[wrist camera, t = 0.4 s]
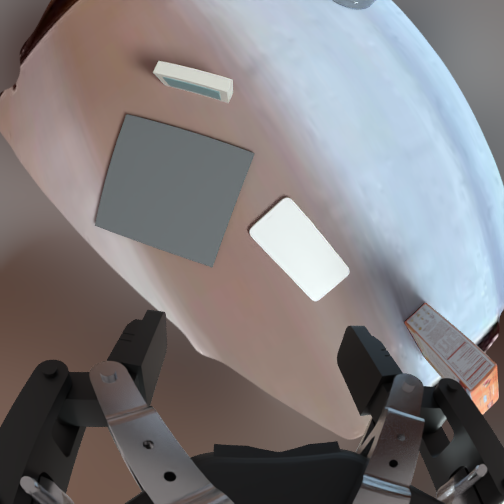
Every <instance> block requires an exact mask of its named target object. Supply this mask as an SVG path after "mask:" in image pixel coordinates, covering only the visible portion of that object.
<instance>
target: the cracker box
mask: <svg viewBox="0 0 504 504" xmlns="http://www.w3.org/2000/svg"><path fill="white" fill-rule="evenodd" d="M404 323H405V325H406V326H407V328H408V330H409V331H410V333H411V335H412V336H413V338H414V340H415V341H416V343H417V345H418V347H419V348H420V350H421V352H422V354H423V355H424V357H425V359H426V360H427V361H428V362H429V363H430V365H431V366H432V367H433V368H434V369H435V370H436V372H437V373H438V374H439V375H440V376H441V377H442V379H443V378H451V379H454V380H456V381H457V382H459V383H460V384H461V385H462V387H463V388H464V389H465V391H466V392H467V394H468V395H469V396H470V398H471V399H472V401H473V402H474V403H475V405H476V406H477V408H478V409H479V411H480V412H481V414H482V415H483V414H484V413H485V412H486V411H487V410H488V409H489V408H490V407H491V406H492V405H493V404H494V403H495V402H496V401H497V399H498V398H499V393H498V374H497V364H496V363H495V362H494V361H493V360H492V359H491V358H490V357H489V356H487V355H486V354H485V353H484V352H483V351H482V350H481V349H480V348H479V347H478V346H476V345H475V344H474V343H473V342H472V341H471V340H470V339H469V338H467V337H466V336H465V335H464V334H463V333H462V332H461V331H459V330H458V329H457V328H456V327H455V326H454V325H452V324H451V323H450V322H449V321H448V320H446V319H445V318H444V317H443V316H442V315H440V314H439V313H438V312H437V311H435V310H434V309H433V308H432V307H431V306H429V305H428V304H427V303H424V304H423V305H422V306H421V307H420V308H419V309H418V310H417V311H416V312H415V313H414V314H413V315H412V316H411V317H409V318H408V319H407V320H406V321H405V322H404Z"/></svg>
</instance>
